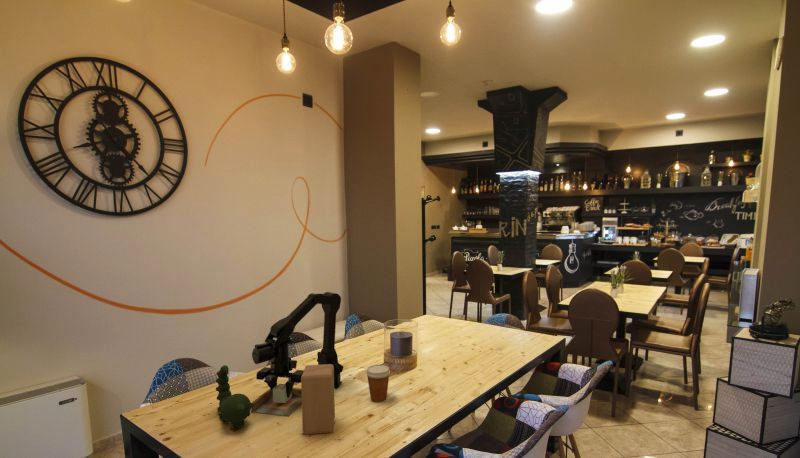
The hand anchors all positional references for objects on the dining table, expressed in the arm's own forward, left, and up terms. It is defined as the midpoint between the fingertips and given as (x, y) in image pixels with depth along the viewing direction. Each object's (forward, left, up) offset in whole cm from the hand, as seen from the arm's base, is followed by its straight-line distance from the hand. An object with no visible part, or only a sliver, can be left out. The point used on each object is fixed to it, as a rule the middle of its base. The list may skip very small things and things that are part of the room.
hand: (282, 396), depth 153 cm
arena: (0, +1, -3) cm, 3 cm away
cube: (0, 0, -1) cm, 1 cm away
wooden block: (-21, +12, -3) cm, 24 cm away
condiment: (+20, -28, -3) cm, 35 cm away
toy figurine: (+11, +15, -3) cm, 19 cm away
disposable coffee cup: (-35, -12, -3) cm, 37 cm away
